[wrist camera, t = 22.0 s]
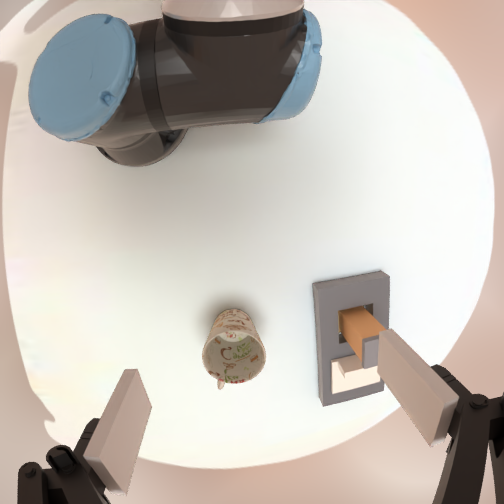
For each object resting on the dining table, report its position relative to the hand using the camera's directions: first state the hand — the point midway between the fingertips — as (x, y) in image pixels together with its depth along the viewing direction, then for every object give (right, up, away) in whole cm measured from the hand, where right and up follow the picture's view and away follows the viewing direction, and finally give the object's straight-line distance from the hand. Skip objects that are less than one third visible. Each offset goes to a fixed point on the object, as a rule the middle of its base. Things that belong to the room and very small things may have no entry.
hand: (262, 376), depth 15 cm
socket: (+16, -9, +35) cm, 40 cm away
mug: (-4, -7, +34) cm, 35 cm away
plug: (+16, -4, +34) cm, 38 cm away
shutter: (+17, -14, +33) cm, 40 cm away
